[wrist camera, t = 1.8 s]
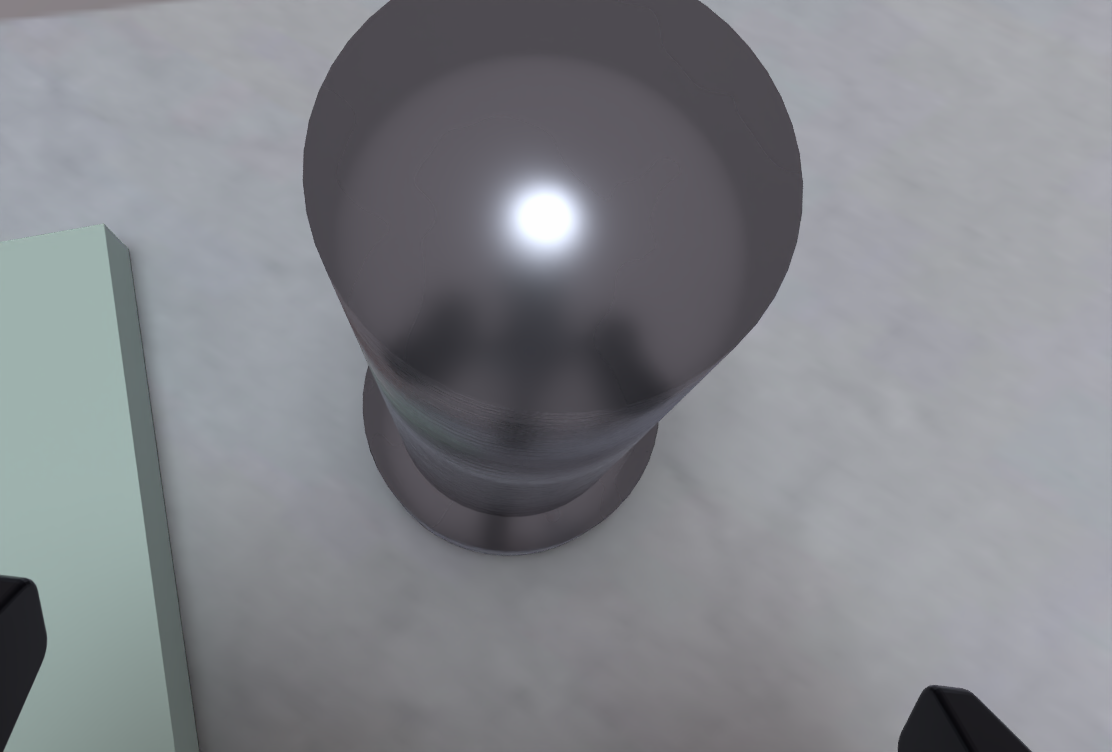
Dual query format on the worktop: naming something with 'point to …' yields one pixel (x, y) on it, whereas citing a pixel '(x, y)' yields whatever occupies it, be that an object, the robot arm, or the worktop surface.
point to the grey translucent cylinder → (543, 243)
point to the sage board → (87, 502)
